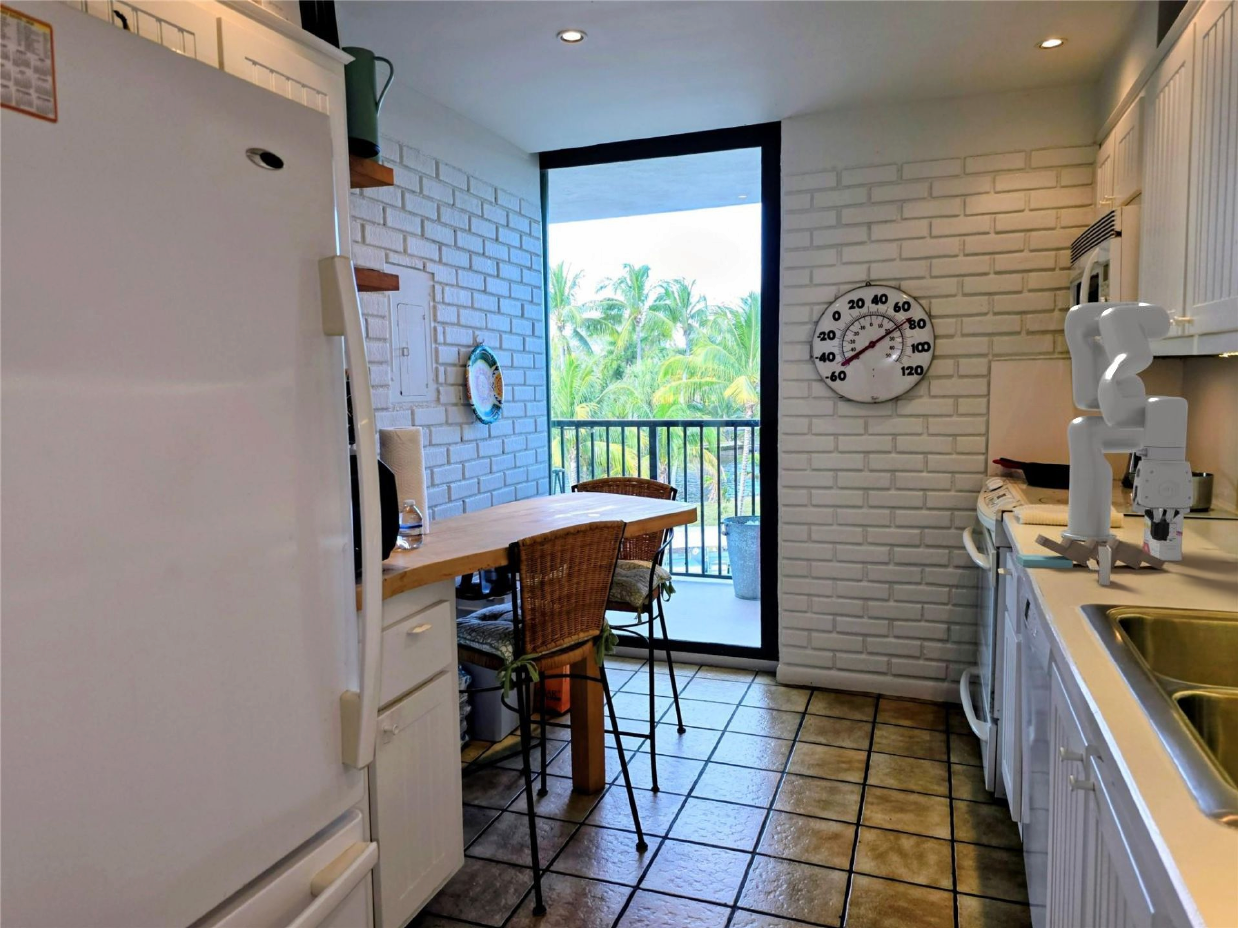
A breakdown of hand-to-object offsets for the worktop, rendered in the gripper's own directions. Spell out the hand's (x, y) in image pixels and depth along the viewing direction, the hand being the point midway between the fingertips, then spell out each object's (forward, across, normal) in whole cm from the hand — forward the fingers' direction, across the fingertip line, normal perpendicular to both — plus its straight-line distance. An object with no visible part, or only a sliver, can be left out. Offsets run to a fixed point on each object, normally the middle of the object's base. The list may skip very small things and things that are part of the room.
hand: (1159, 539), depth 173 cm
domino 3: (+5, -9, 0) cm, 11 cm away
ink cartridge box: (+6, +6, +12) cm, 15 cm away
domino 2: (+5, -15, 0) cm, 15 cm away
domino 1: (+6, -18, 0) cm, 19 cm away
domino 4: (+5, -4, 0) cm, 7 cm away
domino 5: (+5, 0, 0) cm, 5 cm away
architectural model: (+7, -17, -15) cm, 23 cm away
